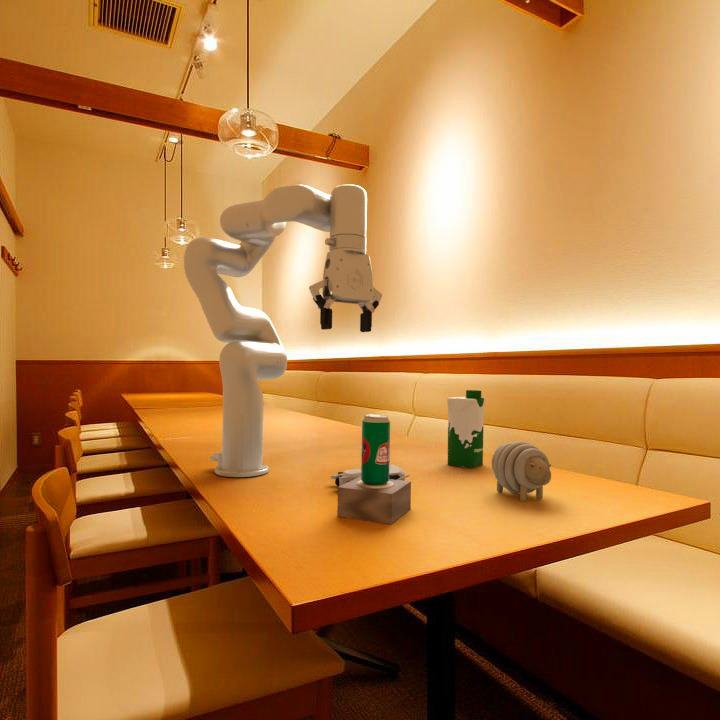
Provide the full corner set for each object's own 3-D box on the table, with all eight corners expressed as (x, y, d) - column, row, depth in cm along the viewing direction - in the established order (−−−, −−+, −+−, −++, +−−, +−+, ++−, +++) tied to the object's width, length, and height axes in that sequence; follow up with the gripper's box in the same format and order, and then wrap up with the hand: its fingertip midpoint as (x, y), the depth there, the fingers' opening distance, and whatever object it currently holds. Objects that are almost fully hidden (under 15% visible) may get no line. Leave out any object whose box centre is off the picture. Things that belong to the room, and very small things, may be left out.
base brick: (337, 515, 87) (337, 485, 87) (360, 502, 96) (361, 474, 96) (391, 524, 83) (392, 492, 83) (410, 508, 92) (411, 480, 92)
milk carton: (474, 469, 129) (475, 391, 129) (442, 464, 134) (443, 390, 134) (487, 464, 136) (488, 390, 136) (456, 460, 141) (457, 389, 141)
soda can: (380, 487, 86) (381, 417, 86) (355, 483, 89) (356, 415, 89) (394, 482, 91) (395, 415, 91) (369, 478, 93) (371, 413, 93)
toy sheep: (527, 508, 94) (528, 449, 94) (471, 488, 109) (472, 436, 109) (569, 503, 98) (570, 446, 98) (509, 484, 113) (510, 434, 114)
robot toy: (343, 503, 99) (413, 493, 103) (342, 480, 99) (412, 471, 103) (328, 488, 111) (392, 479, 115) (327, 468, 111) (391, 460, 115)
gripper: (321, 237, 96) (319, 327, 95) (392, 250, 106) (390, 332, 105) (302, 244, 102) (300, 329, 102) (370, 256, 112) (369, 333, 112)
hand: (346, 330), depth 103 cm, fingers open, 9 cm apart
